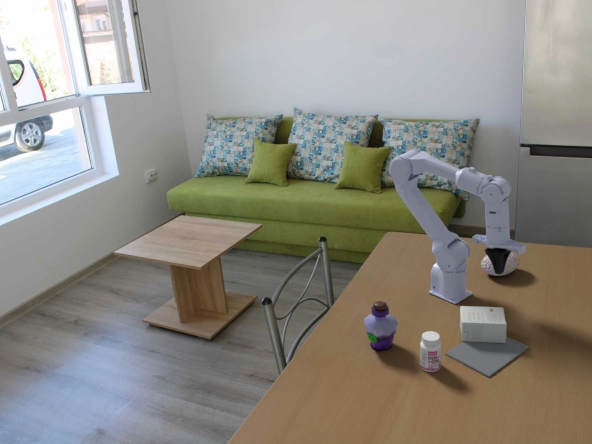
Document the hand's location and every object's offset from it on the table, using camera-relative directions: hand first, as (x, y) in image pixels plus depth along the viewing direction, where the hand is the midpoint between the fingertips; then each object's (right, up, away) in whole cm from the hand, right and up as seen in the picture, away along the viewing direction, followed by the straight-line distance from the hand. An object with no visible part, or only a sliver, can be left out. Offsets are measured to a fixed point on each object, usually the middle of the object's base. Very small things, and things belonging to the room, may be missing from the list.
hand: (499, 272), depth 146 cm
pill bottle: (-22, -21, -17) cm, 35 cm away
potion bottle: (-33, -18, -8) cm, 38 cm away
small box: (-13, -12, -7) cm, 19 cm away
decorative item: (+8, -2, +21) cm, 23 cm away
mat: (-8, -18, -14) cm, 24 cm away
